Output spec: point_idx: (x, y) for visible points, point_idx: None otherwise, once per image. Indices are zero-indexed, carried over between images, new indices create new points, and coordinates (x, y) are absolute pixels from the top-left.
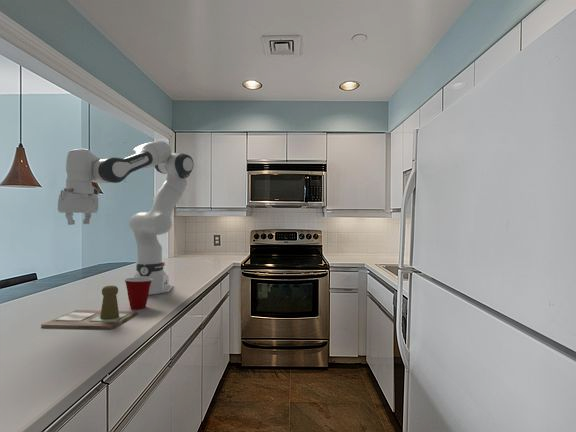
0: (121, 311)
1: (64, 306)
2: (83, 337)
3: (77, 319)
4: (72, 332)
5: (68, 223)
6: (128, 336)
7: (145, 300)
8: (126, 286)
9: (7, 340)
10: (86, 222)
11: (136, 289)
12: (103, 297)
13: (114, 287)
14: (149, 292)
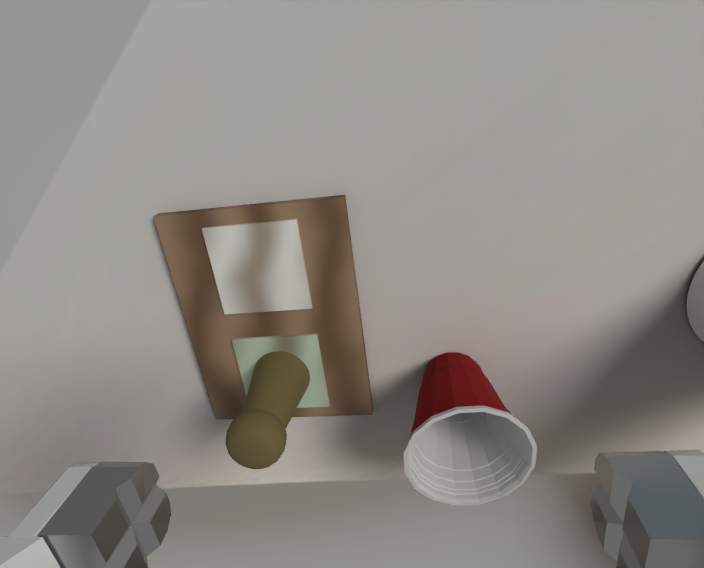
0: (359, 369)
1: (432, 50)
2: (145, 383)
3: (228, 298)
4: (162, 334)
5: (68, 485)
6: (190, 468)
7: (449, 420)
8: (432, 403)
9: (42, 212)
10: (603, 537)
11: (416, 441)
12: (244, 410)
13: (250, 467)
14: (698, 325)
